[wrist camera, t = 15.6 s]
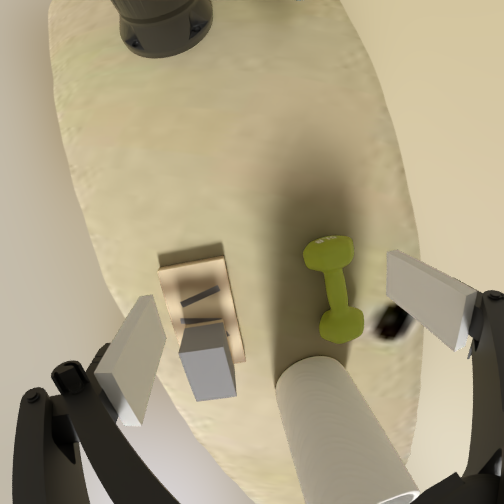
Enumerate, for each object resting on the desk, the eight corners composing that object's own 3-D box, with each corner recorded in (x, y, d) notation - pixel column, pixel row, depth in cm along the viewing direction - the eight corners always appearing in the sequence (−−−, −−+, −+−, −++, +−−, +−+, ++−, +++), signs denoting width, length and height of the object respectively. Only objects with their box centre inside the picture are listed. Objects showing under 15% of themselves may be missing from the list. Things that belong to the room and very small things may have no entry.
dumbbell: (295, 241, 43) (308, 252, 36) (341, 228, 43) (362, 236, 36) (314, 331, 47) (327, 353, 40) (355, 316, 47) (373, 335, 40)
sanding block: (185, 325, 42) (178, 353, 34) (222, 319, 42) (223, 346, 34) (199, 370, 44) (196, 401, 36) (234, 365, 44) (236, 396, 37)
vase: (265, 368, 47) (305, 527, 17) (340, 342, 48) (431, 474, 17) (283, 416, 51) (320, 546, 20) (347, 393, 51) (413, 508, 21)
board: (159, 267, 41) (157, 271, 40) (223, 255, 42) (223, 258, 40) (189, 363, 46) (188, 370, 44) (245, 355, 46) (245, 361, 44)
